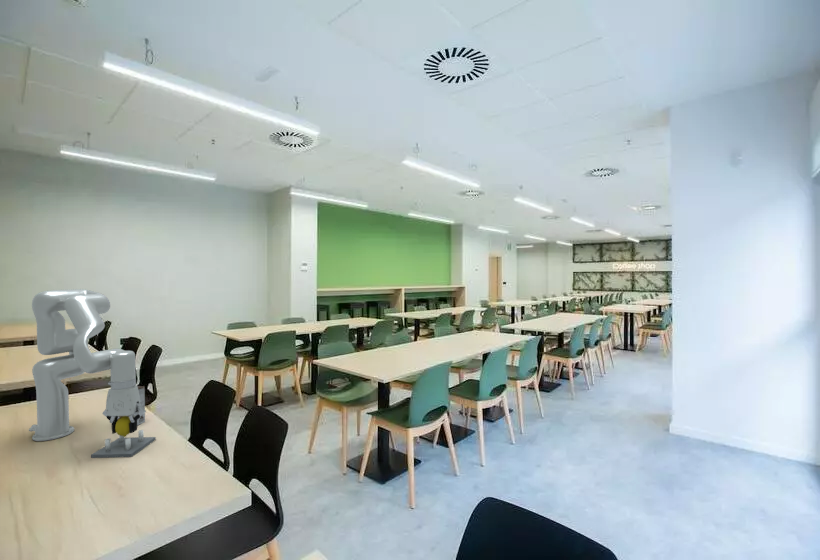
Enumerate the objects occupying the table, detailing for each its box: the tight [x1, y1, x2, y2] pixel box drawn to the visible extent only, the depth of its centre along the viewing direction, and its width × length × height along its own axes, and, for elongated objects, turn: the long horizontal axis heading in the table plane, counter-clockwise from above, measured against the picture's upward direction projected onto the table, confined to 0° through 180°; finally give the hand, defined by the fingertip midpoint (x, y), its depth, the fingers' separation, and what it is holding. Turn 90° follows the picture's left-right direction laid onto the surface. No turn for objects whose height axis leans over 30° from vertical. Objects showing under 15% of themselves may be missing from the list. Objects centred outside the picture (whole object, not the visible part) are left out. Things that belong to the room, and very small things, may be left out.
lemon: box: [115, 416, 131, 438], centre depth 144 cm, size 6×6×8 cm
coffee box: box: [118, 385, 146, 426], centre depth 168 cm, size 9×6×16 cm
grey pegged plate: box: [90, 429, 157, 459], centre depth 145 cm, size 14×14×5 cm
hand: (124, 431), depth 144 cm, fingers closed on lemon, 5 cm apart
